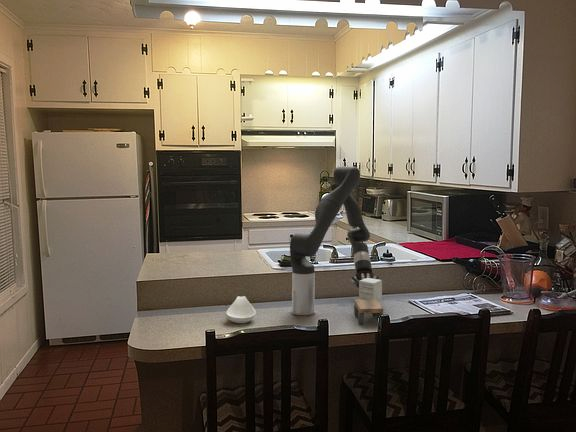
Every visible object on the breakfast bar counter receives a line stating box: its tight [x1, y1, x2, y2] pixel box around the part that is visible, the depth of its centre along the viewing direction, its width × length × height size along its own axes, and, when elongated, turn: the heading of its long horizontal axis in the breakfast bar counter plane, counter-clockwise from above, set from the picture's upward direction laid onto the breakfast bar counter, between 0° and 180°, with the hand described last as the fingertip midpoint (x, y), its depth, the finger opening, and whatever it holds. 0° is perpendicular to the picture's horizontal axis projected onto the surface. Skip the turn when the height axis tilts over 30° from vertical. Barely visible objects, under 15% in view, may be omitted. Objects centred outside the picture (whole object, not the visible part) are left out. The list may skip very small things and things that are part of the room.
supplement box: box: [358, 278, 383, 307], centre depth 212 cm, size 7×7×13 cm
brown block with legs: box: [353, 298, 384, 325], centre depth 196 cm, size 9×15×7 cm, turn 2°
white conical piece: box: [225, 295, 257, 324], centre depth 202 cm, size 24×12×7 cm, turn 6°
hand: (367, 296), depth 218 cm, fingers closed
